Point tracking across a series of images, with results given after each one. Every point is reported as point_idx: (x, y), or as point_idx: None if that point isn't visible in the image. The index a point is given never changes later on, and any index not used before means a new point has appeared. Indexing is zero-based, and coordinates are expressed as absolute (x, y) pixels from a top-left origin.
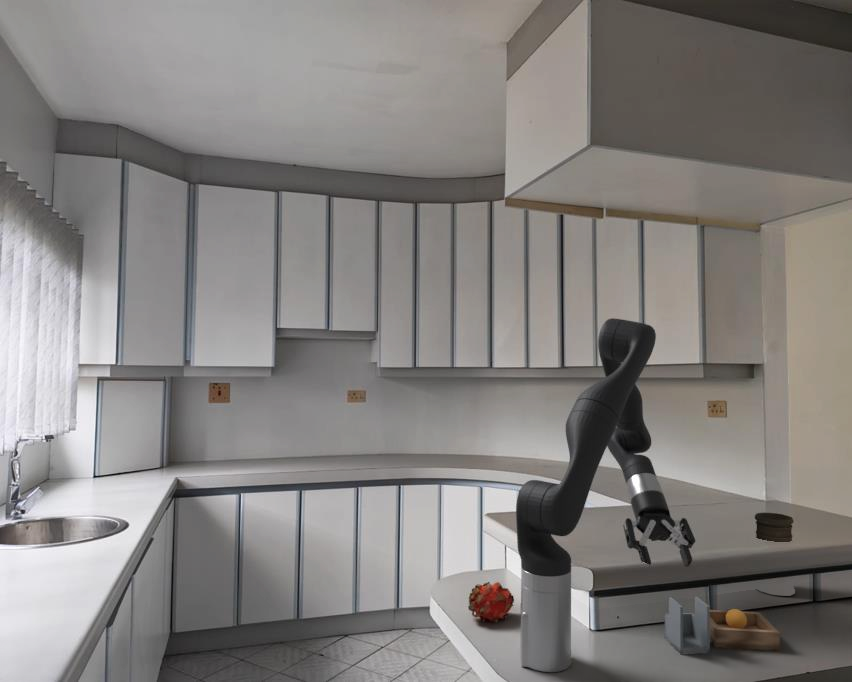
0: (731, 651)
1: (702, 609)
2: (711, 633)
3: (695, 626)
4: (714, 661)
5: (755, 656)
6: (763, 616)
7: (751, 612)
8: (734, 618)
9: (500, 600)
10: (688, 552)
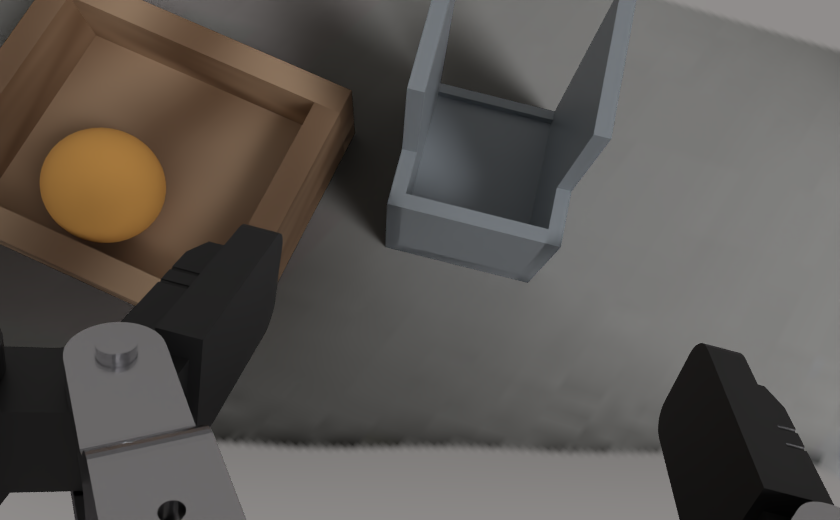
0: None
1: (445, 25)
2: (326, 164)
3: (416, 164)
4: (456, 37)
5: (248, 18)
6: None
7: None
8: (143, 148)
9: None
10: (171, 298)
